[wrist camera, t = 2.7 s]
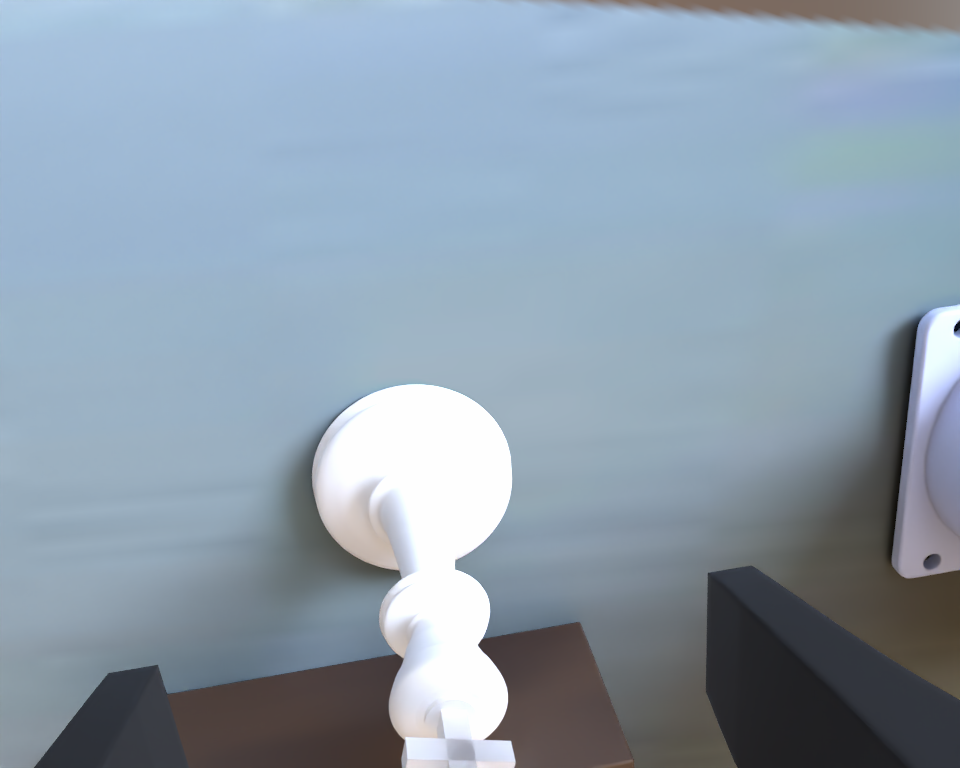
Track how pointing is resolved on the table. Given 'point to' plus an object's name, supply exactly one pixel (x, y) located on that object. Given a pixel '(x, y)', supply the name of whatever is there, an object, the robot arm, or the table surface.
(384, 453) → the chess piece
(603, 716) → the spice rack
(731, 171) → the table surface
